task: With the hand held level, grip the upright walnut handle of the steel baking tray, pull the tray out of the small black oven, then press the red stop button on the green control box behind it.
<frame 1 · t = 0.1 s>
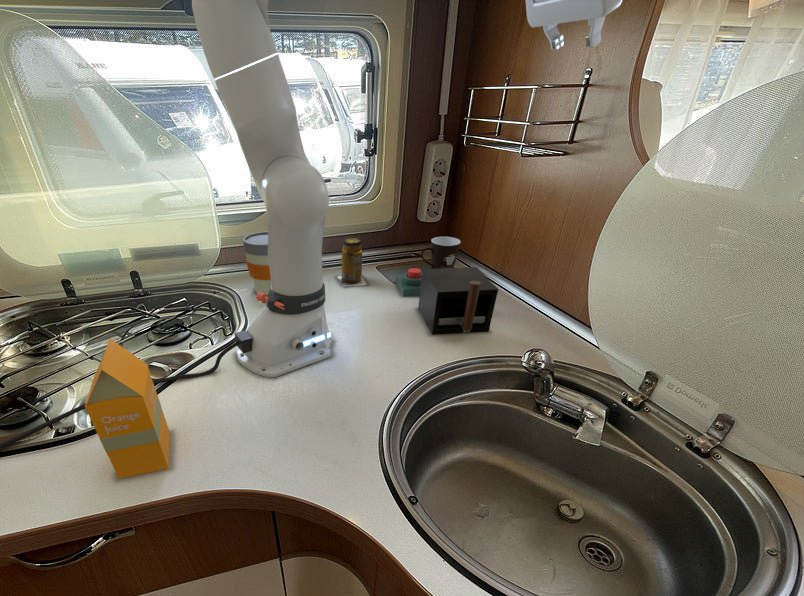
hand: (574, 46, 79), 54 cm above the worktop, tool tilted 30°, fingers open, 8 cm apart
coffee mug: (436, 273, 133), on the worktop
condiment: (351, 281, 129), on the worktop
control box: (412, 288, 123), on the worktop
oven: (451, 320, 107), on the worktop
tray: (460, 295, 100), point 8 cm above the worktop, slide at 0.0 cm
orange juice: (146, 455, 70), on the worktop
reusable coffee cup: (270, 290, 124), on the worktop
stop button: (414, 273, 120), point 5 cm above the worktop, slide at 0.1 cm
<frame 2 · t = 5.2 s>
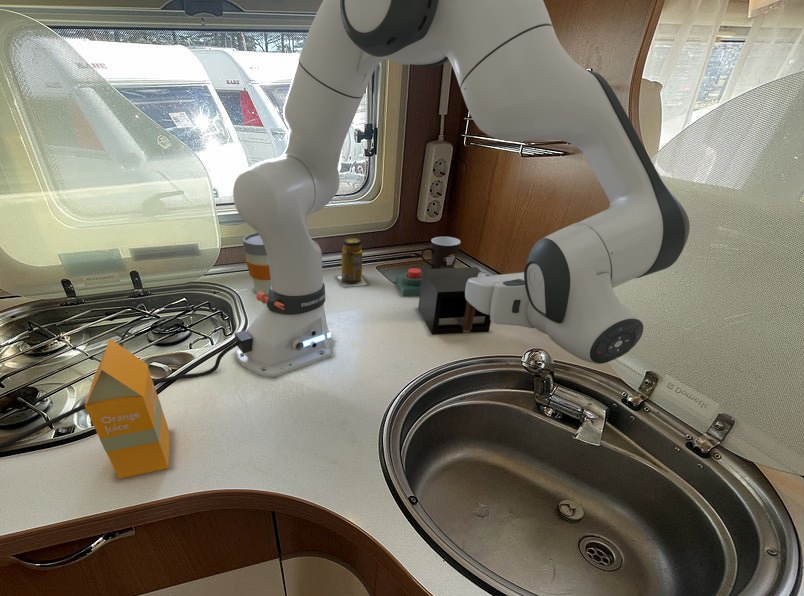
hand: (505, 273, 78), 20 cm above the worktop, tool horizontal, fingers open, 8 cm apart
nothing on the worktop moved.
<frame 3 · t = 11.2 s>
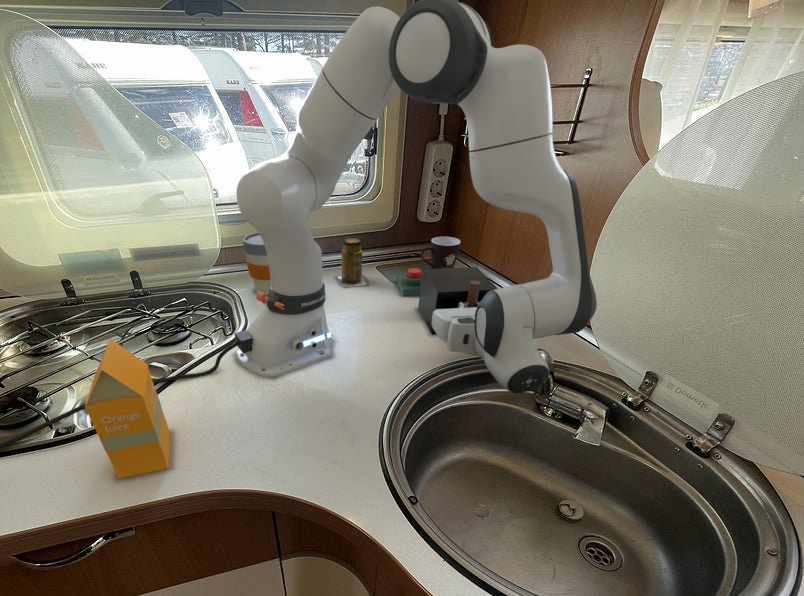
hand: (469, 304, 95), 9 cm above the worktop, tool horizontal, fingers closed on tray, 2 cm apart
tray: (460, 295, 100), point 8 cm above the worktop, slide at 0.0 cm, touching gripper
everything else where it was.
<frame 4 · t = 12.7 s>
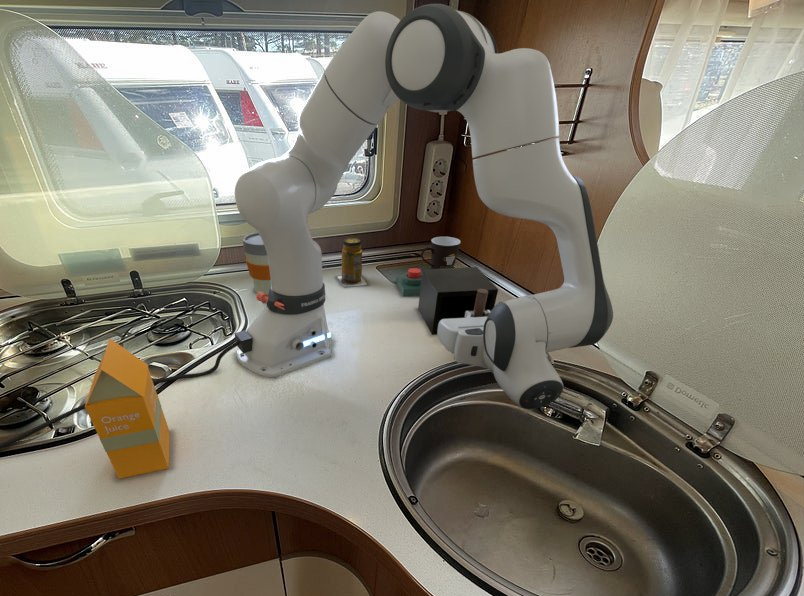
hand: (476, 313, 91), 9 cm above the worktop, tool horizontal, fingers closed on tray, 2 cm apart
tray: (466, 303, 96), point 8 cm above the worktop, slide at 4.4 cm, touching gripper
everything else where it was.
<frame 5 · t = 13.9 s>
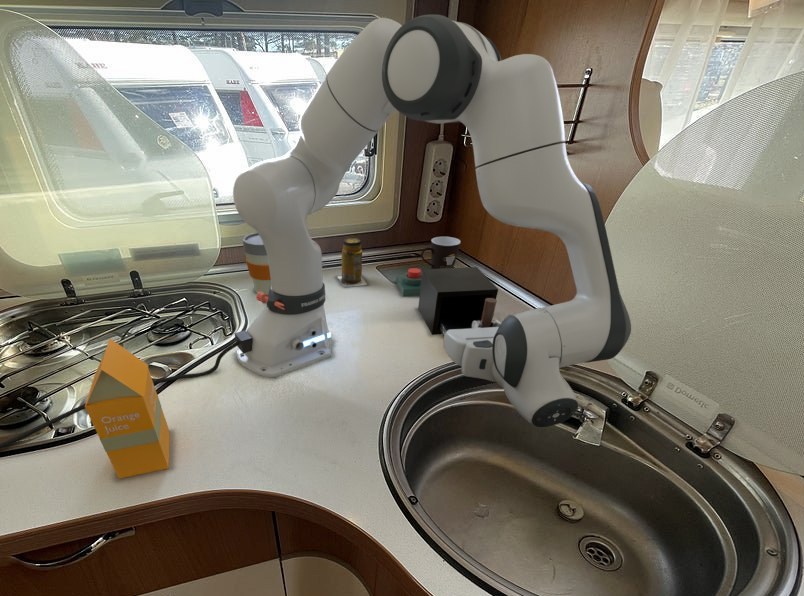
hand: (483, 323, 87), 9 cm above the worktop, tool horizontal, fingers closed on tray, 2 cm apart
tray: (473, 312, 93), point 8 cm above the worktop, slide at 8.9 cm, touching gripper
everything else where it was.
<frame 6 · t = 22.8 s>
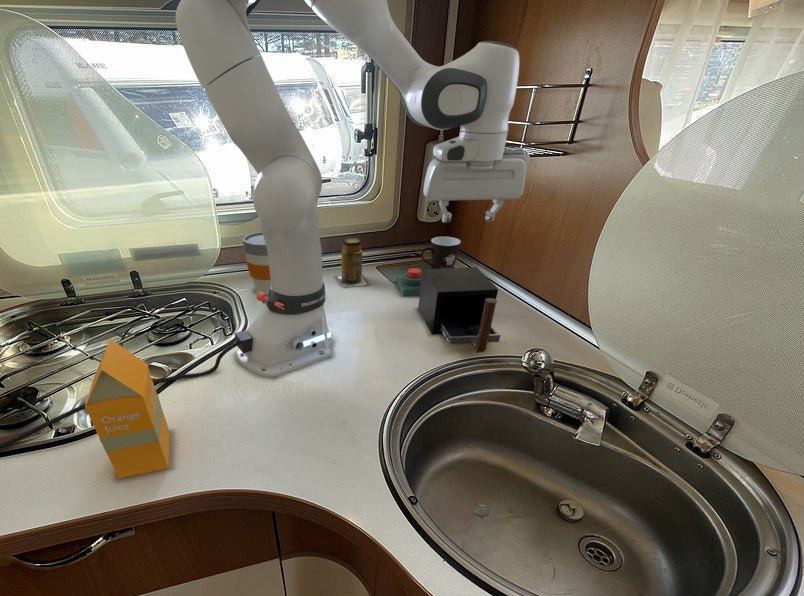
hand: (467, 221, 91), 25 cm above the worktop, tool pointing down, fingers open, 8 cm apart
tray: (473, 312, 93), point 8 cm above the worktop, slide at 9.0 cm
everything else where it was.
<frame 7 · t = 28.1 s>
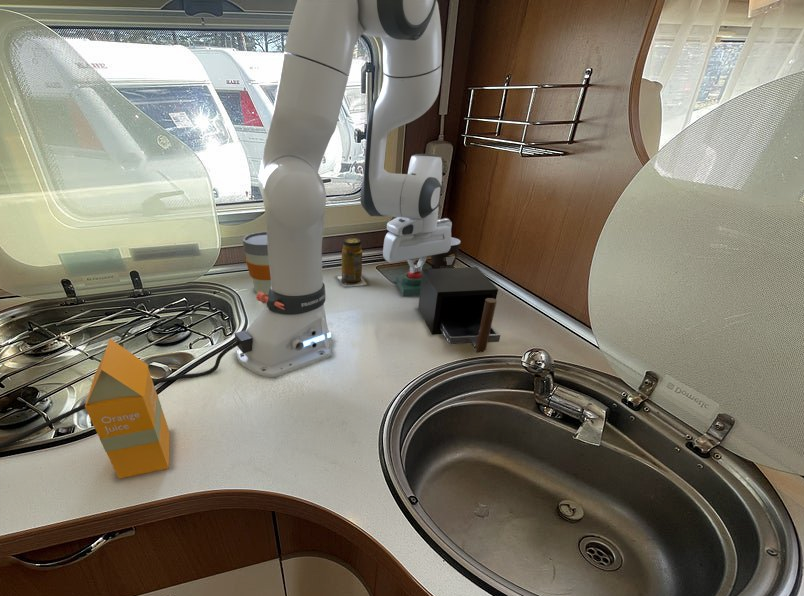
hand: (415, 272, 120), 5 cm above the worktop, tool pointing down, fingers closed, pressing on stop button
stop button: (414, 275, 121), point 4 cm above the worktop, slide at -0.4 cm, touching gripper
everything else where it was.
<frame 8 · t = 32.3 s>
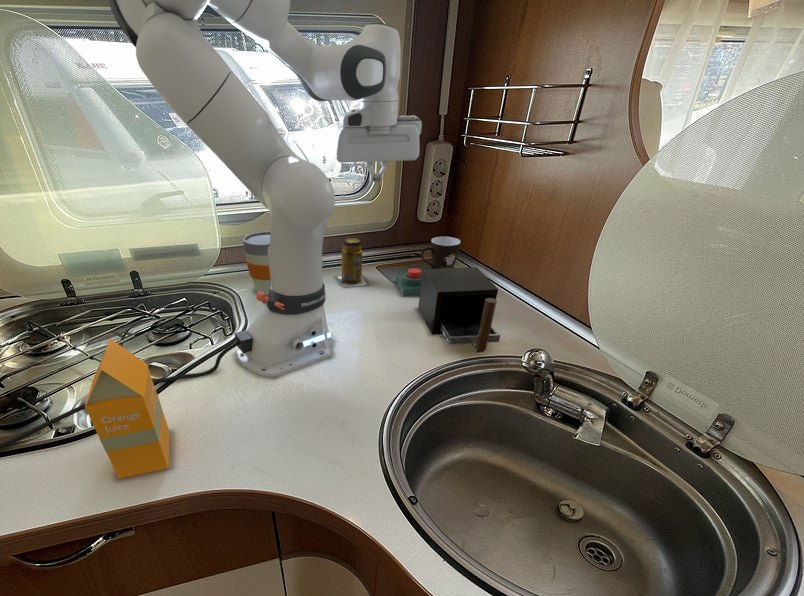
hand: (376, 181, 106), 29 cm above the worktop, tool pointing down, fingers closed
stop button: (414, 273, 120), point 5 cm above the worktop, slide at 0.1 cm
everything else where it was.
at the end: tray slide at 9.0 cm; stop button pushed in 1.0 cm at the most during the clip, back to where it started at the end; stop button slide at 0.1 cm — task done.
